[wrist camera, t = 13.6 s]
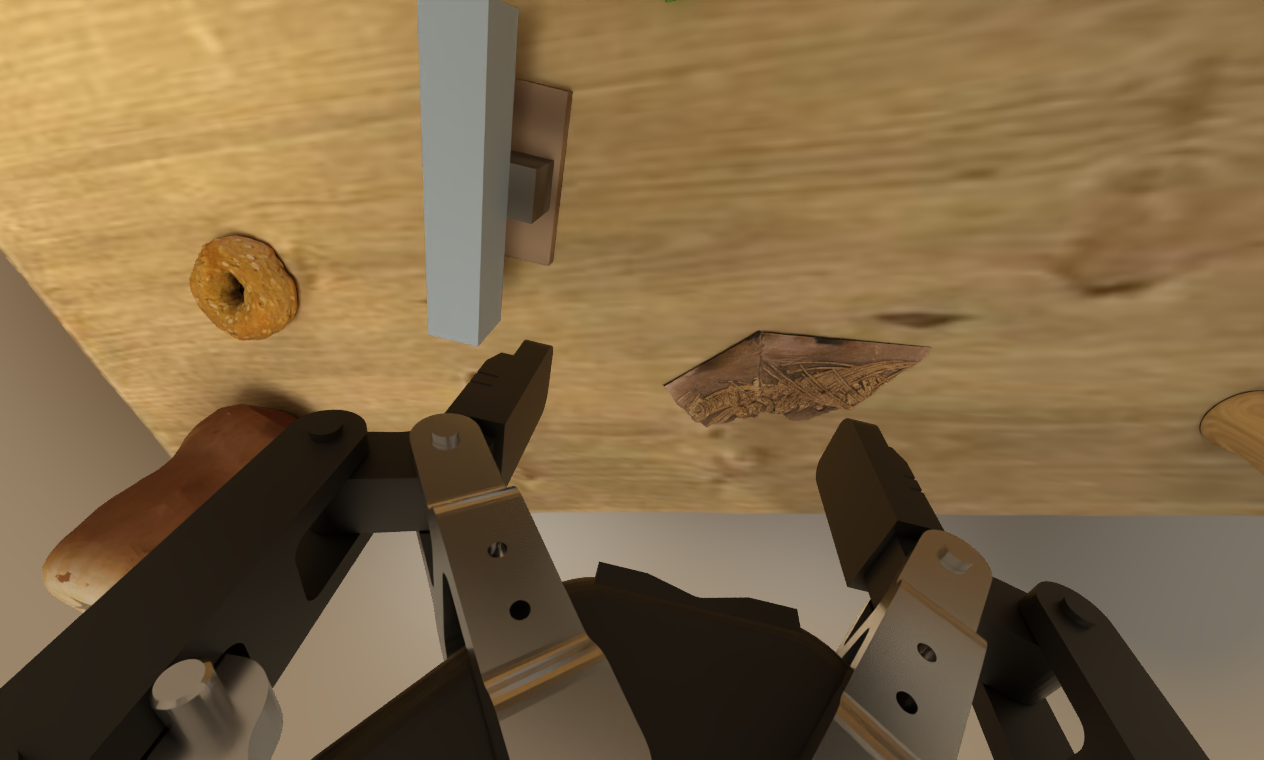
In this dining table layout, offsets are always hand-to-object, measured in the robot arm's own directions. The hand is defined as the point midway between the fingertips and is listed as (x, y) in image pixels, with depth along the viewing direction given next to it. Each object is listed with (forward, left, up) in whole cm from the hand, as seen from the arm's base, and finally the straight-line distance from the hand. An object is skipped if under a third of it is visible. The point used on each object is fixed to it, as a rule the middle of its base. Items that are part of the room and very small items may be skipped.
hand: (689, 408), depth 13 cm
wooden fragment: (+15, +14, -33) cm, 39 cm away
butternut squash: (+39, -42, -32) cm, 66 cm away
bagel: (+19, -43, -32) cm, 57 cm away
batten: (+2, -16, -26) cm, 30 cm away
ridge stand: (+2, -16, -32) cm, 36 cm away
